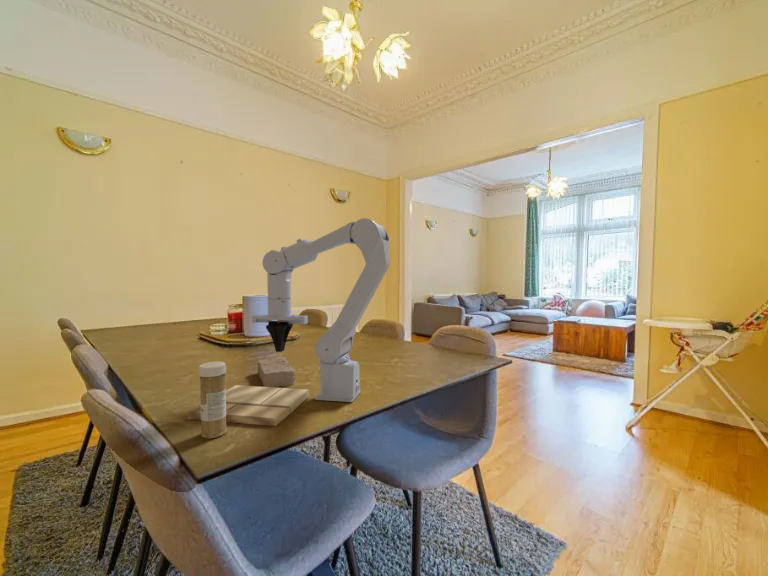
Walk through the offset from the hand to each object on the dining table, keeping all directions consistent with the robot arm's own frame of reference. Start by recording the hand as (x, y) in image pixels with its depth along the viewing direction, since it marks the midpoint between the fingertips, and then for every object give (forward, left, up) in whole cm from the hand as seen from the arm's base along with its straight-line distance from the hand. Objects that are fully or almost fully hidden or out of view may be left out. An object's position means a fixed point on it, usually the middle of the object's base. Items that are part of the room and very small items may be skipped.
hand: (280, 351), depth 89 cm
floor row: (+1, +17, -10) cm, 20 cm away
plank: (+1, +8, -10) cm, 13 cm away
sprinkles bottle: (+1, +25, -11) cm, 27 cm away
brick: (+7, -10, -11) cm, 16 cm away
